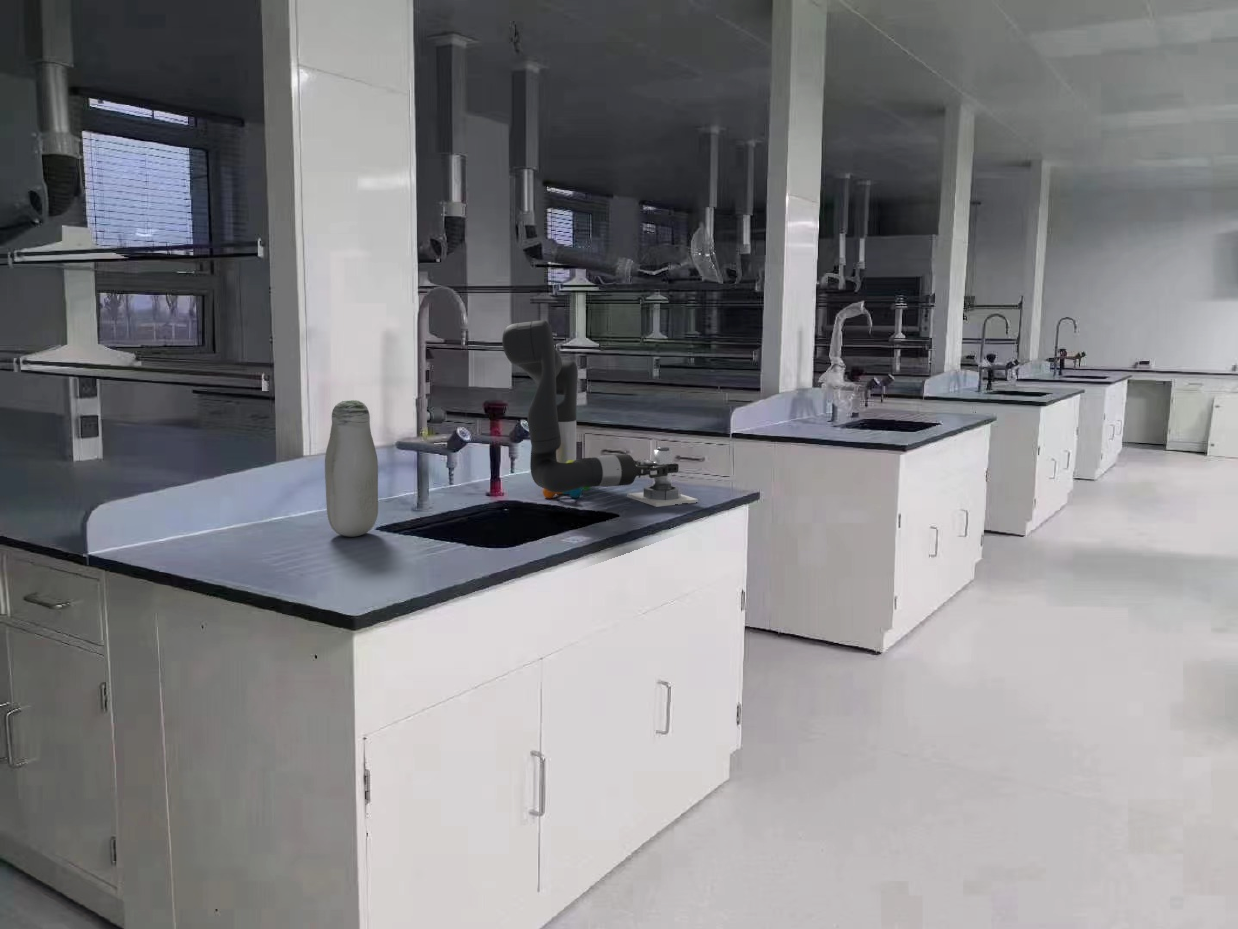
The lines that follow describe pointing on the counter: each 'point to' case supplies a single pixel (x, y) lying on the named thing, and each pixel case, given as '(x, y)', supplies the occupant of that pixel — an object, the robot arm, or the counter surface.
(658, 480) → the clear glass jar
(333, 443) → the grey bottle
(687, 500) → the plate
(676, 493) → the collar
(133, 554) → the counter surface
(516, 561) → the counter surface
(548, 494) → the molecular model
